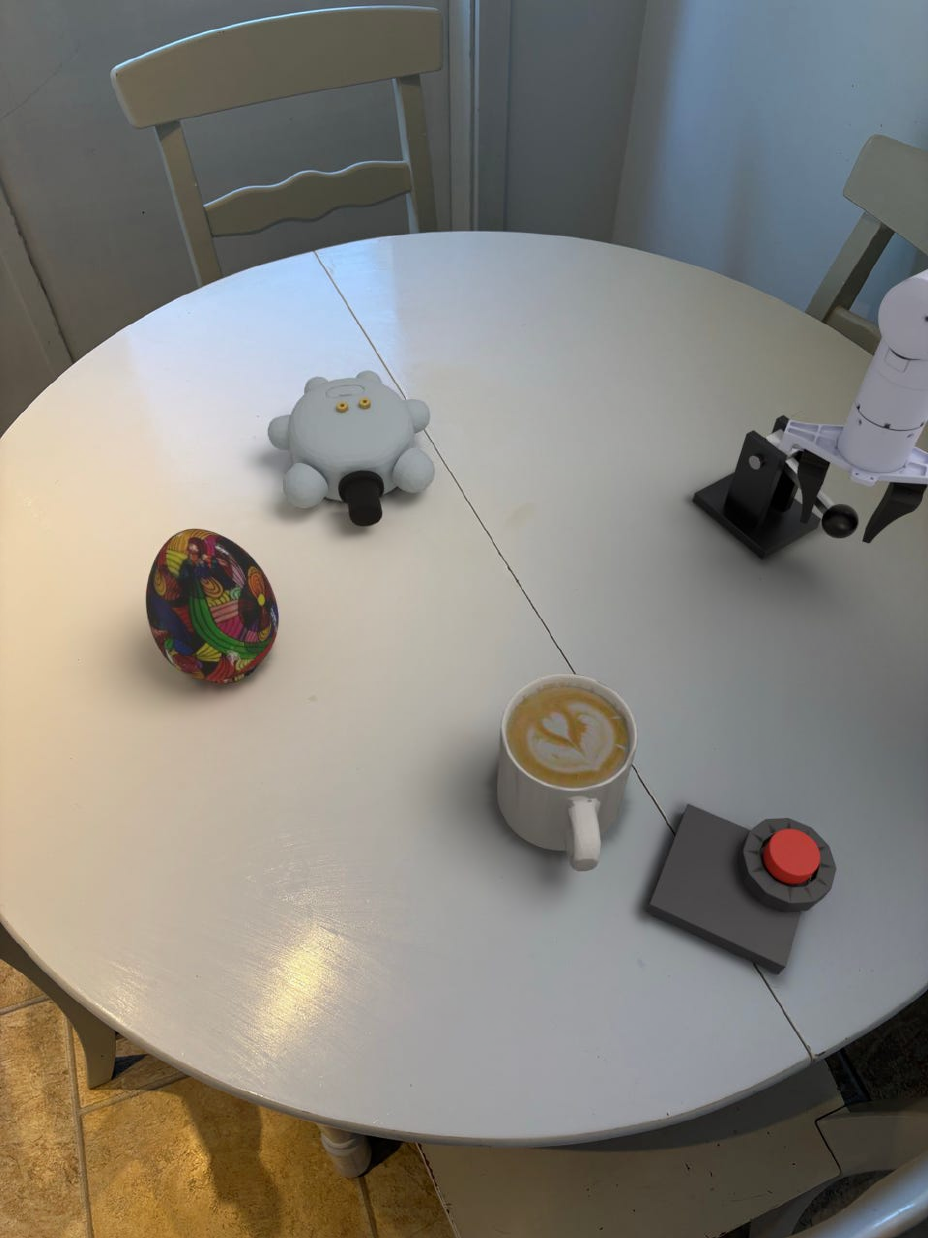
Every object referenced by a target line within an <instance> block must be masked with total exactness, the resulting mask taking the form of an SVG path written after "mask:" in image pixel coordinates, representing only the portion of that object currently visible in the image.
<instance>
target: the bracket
mask: <svg viewBox="0 0 928 1238" xmlns="http://www.w3.org/2000/svg"><path fill="white" fill-rule="evenodd" d="M789 420H791V419H790V418H789V417H788V416H786V415H785V414H783V415H780V416H778V417H777V418H776V419H775V421H774V424H773V428H772V430H771V433H770V434H772V433H774V432H776V431H778V430H780V429H782V430H783V432H784V431H785V429H786V426H787V424H788V421H789ZM802 454H803V451H800V450H799V452H798V453H797V454H796V456H795V457H794V458H795V460H796V461H797V462H798V463H799V462H800V459H801V456H802ZM787 456H788V455H786V454H785V453H784V452H782V451H781V450H779V449H778V448H777V447H776V446H774V445H773V444H772V443H770V442H769V441H768V440H766V439H765V436H762V434H760V433H758V432H757V430H754V429H753V430H751V431H748V432H747V433H746V434H745V437H744V441H743V443H742V446H741V450H740V452H739V456H738V459H737V461H736V462H737V463H736V466H735V469H734V471H733V472H731V473H730V474H728V475H726V476H724V477H722V478H720V479H718V480H717V481H714V482H713V483H710V484H709V485H707V486H705V487H703V488H701V489H699V490H697V491H696V492H694V494H693V498H692V502H693V503H694V504H695V505H697V506H698V507H699V508H700V509H701V510H703V511H704V512H705V514H707V515H709V516H710V517H711V518H712V519H714V521H716V522H717V523H718V524H719V525H721V526H722V527H723V528H724V529H725V530H726V531H728V532H729V534H731V535H732V536H733V537H734V538H736V539H737V540H738V541H739V542H740V543H742V545H744V546H745V547H746V548H747V549H749V550H750V551H751V552H752V553H753V554H754V555H755V556H757V557H758V558H760V560H764V559H766V558H767V557H769V556H771V555H773V554H774V553H776V552H778V551H780V550H781V549H783V548H785V547H787V546H788V545H790V544H791V543H794V542H795V541H797V540H798V539H800V538H803V536H805V535H807V534H809V533H810V532H813V530H816V529H817V528H819V526H820V523H821V520H822V517H820V516H818V515H817V514H816V513H815V512H813V511H812V513H811V516H810V519H809V521H808V523H807V524H804V523H801V522H800V518H801V514H802V502H800V501H799V500H798V499H796V495H797V493H798V490H799V489H800V488H799V487H798V486H797V485H796V484H795V483H794V482H793V481H792V479H791V478H790V477H789V476H788V475H787V474H786V473H785V472H784V470H783V467H784V465H785V462H786V459H787Z"/></svg>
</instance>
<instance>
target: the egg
mask: <svg viewBox="0 0 928 1238" xmlns="http://www.w3.org/2000/svg"><path fill="white" fill-rule="evenodd" d="M145 610H146V617H147V622H148V626H149V629H150V632H151V636H152V638H153V640H154V642H155V644H156V646H157V648H158V650H159V651H160V653H161V654H162V656H163V658H165V659H166V660H167V661H168V662H169V664H170V665H172V666H173V667H174V668H175V669H177V670H179V671H180V672H182V673H184V674H185V675H188V676H189V677H192V678H196V679H199V680H204V681H210V682H214V683H219V684H227V683H232V682H233V683H234V682H236V681H237V682H238V681H240V680H241V679H243V678H245V677H248V676H250V674H251V673H254V671H255V670H256V668H257V667H259V665H260V664H261V663H262V661H263V660H264V659H265V658H266V656H267V655H268V654H269V653H270V651H271V650H272V648H273V646H274V643H275V642H276V639H277V635H278V631H279V624H280V616H279V615H280V614H279V607H278V602H277V599H276V595H275V593H274V589H273V587H272V585H271V583H270V580H269V579H268V577H267V575H266V573H265V572H264V570H263V569H262V567H261V566H260V565H259V564H258V562H257V561H256V560H255V559H254V557H252V556H251V555H250V554H249V552H248V551H247V550H246V549H244V548H243V547H242V546H241V545H239V544H237V543H236V542H235V541H233V540H232V539H229V538H228V537H227V536H224V535H223V534H220V533H217V532H215V531H211V530H208V529H204V528H187V529H183V530H180V531H178V532H176V533H175V534H174V535H172V536H171V537H169V539H168V540H166V541H165V543H164V544H163V545H162V547H160V550H159V551H158V553H157V554H156V556H155V558H154V560H153V562H152V565H151V567H150V570H149V573H148V578H147V582H146V590H145Z"/></svg>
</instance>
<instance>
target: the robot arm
mask: <svg viewBox="0 0 928 1238" xmlns="http://www.w3.org/2000/svg"><path fill="white" fill-rule="evenodd" d="M877 313H878V314H877V321H878V322H877V323H878V324H877V325H878V328H879V332H880V335H881V339H880V340H879V343H878V346H877V348H876V350H875V352H874V355H873V357H872V359H871V362H870V364H869V366H868V368H867V371H866V373H865V375H864V378H863V380H862V383H861V385H860V387H859V390H858V392H857V394H856V397H855V400H854V402H853V403H852V406H851V409H850V412H849V413H848V416H847V418H846V421H845V423H844V425H843V424H841V425H840V424H828V423H827V424H826V423H810V422H802V421H797V420H794V419H790V420H789V421H788V424H787V426H786V429H785V431H784V434H783V437H782V440H781V442H780V445H779V448H778V449H779V450H783V451H786V452H790V451H791V450H792V448H793V449H796V450H800V451H803V454H802V456H801V459H800V462H799V465H798V468H797V478H798V480H799V483H800V487H801V490H800V492H801V504H802V514H801V518H800V522H801V523H804V524H807V523H808V521H809V519H810V516H811V513H812V512H813V509H814V507H815V505H814V504H815V501H816V497H817V495H818V493H819V491H820V489H821V488H822V486H823V485H824V482H825V479H826V477H827V474H828V470H829V468H830V465H831V464H832V465H834V466H835V467H838V468H839V469H841V470H843V471H845V472H846V473H849V475H848V478H849V480H850V481H851V482H852V483H854V484H857V485H861V486H864V487H867V488H873V487H874V486H875V485H876V484H877V482H886V483H888V485H887V487H886V490H885V491H884V493H883V496H882V498H881V499H880V501H879V503H878V504H877V506H876V507H875V510H874V511H873V513H872V514H871V515H870V518H869V520H868V522H867V524H866V527H865V530H864V533H863V537H862V540H861V542H863V543H866V544H871V543H872V541H873V540H874V539H875V538H876V537H877V536H878V535H879V534H880V533H881V532H882V531H884V529H886V528H887V527H888V526H889V525H891V524H892V523H893V522H895V521H896V520H898V519H900V518H902V517H904V516H906V515H909V514H911V513H913V512H915V511H916V510H917V509H918V508H919V507H920V506H921V503H922V501H923V499H924V494H925V492H926V490H927V489H928V452H926V451H925V450H922V448H920V447H917V446H916V444H917V442H918V439H920V436H921V434H922V432H923V430H924V428H925V426H926V424H927V423H928V268H927V269H925V270H923V271H921V272H919V273H917V274H915V275H912V276H910V277H908V278H906V279H904V280H902V281H900V282H899V283H898V284H896V285H895V286H893V287H892V288H890V289H889V290H888V291H887V292H886V293H885V295H884V296H883V298H882V300H881V301H880V305H879V308H878V312H877Z"/></svg>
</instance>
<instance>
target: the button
mask: <svg viewBox="0 0 928 1238" xmlns="http://www.w3.org/2000/svg"><path fill="white" fill-rule="evenodd" d="M763 859H764V863H765V866H766V868H767V870H768V871H769V872H770V874H771V875H772V876H773V877H775V878H776V879H777V880H779V881H781V882H783V883H786V884H792V885H796V884H801V883H803V882H805V881H807V880H808V879H809V878H810V879H811V876H812V874H813V873H814V871H815V870H816V869H817V867H818V866H819V863H820V852H819V849H818V847H817V845H816V843H815V842H814V841H813V840H812V838H810V837H809V836H808V835H807V834H805V833H803V832H801V831H799V830H795V829H783V830H780V831H778V832H776V833H775V834H774V835H773V836H772V838H771V839H770V841H769V842H768V844H767V846H766V847H765V850H764V853H763Z"/></svg>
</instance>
